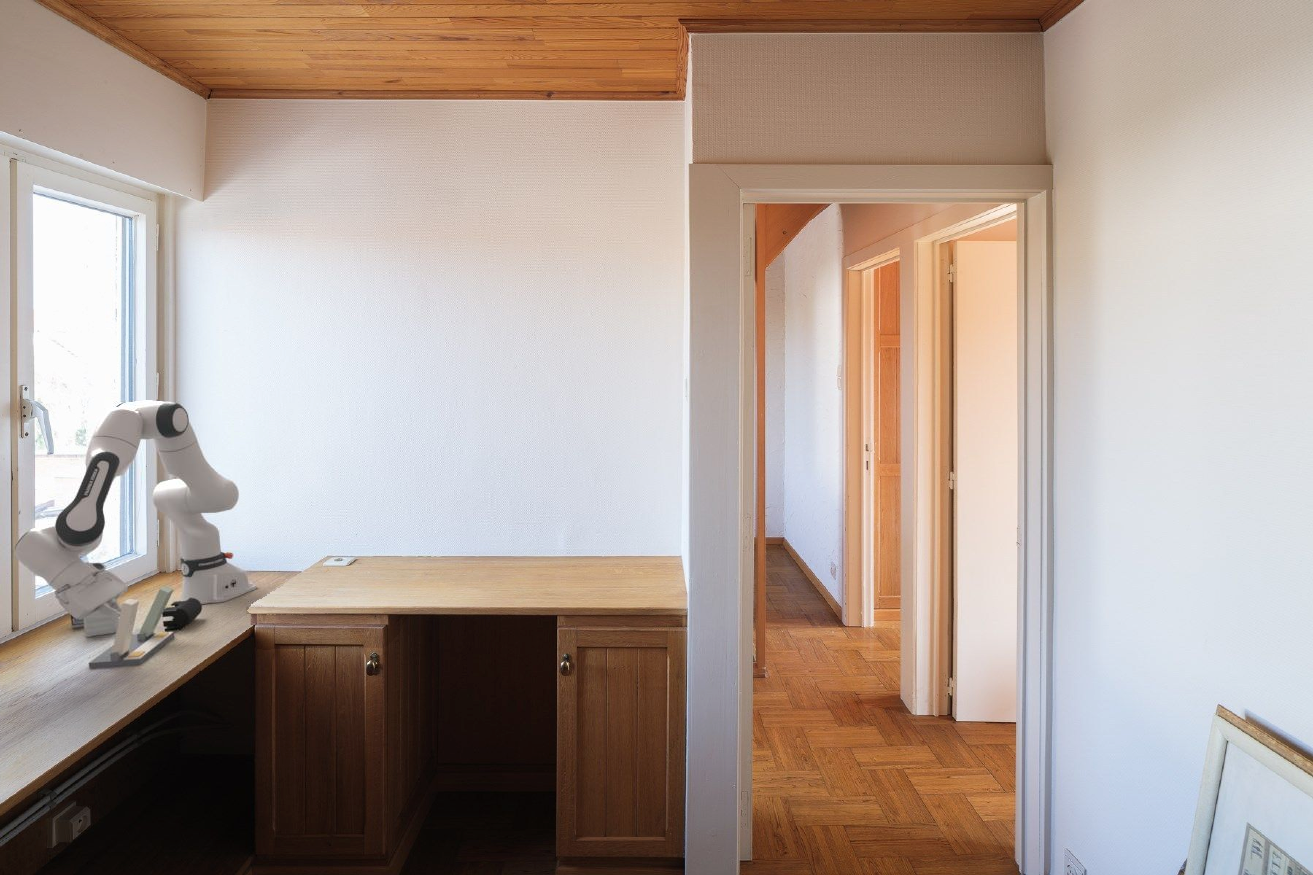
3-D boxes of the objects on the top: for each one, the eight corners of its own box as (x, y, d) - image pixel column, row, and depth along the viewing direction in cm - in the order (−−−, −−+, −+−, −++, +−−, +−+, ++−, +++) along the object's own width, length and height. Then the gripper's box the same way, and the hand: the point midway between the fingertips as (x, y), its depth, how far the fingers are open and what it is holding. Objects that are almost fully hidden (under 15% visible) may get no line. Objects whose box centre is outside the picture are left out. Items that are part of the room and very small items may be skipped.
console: (89, 668, 208) (87, 655, 207) (128, 640, 227) (127, 627, 227) (140, 664, 209) (138, 651, 209) (174, 636, 229) (173, 624, 228)
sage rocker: (137, 636, 223) (159, 589, 222) (143, 631, 226) (165, 585, 226) (145, 640, 223) (168, 592, 223) (152, 635, 227) (174, 588, 226)
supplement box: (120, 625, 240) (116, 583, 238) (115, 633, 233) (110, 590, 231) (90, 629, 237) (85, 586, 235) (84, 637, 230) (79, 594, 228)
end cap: (190, 630, 234) (187, 607, 233) (163, 632, 233) (161, 609, 232) (203, 618, 244) (201, 596, 243) (177, 620, 243) (175, 598, 242)
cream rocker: (110, 657, 209) (122, 603, 208) (118, 651, 213) (129, 598, 212) (120, 659, 210) (132, 605, 208) (127, 653, 213) (139, 600, 212)
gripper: (60, 582, 197) (107, 619, 200) (105, 561, 217) (148, 594, 220) (42, 601, 197) (89, 638, 199) (89, 578, 217) (131, 611, 220)
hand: (120, 615), depth 210 cm, fingers closed, pressing on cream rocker
